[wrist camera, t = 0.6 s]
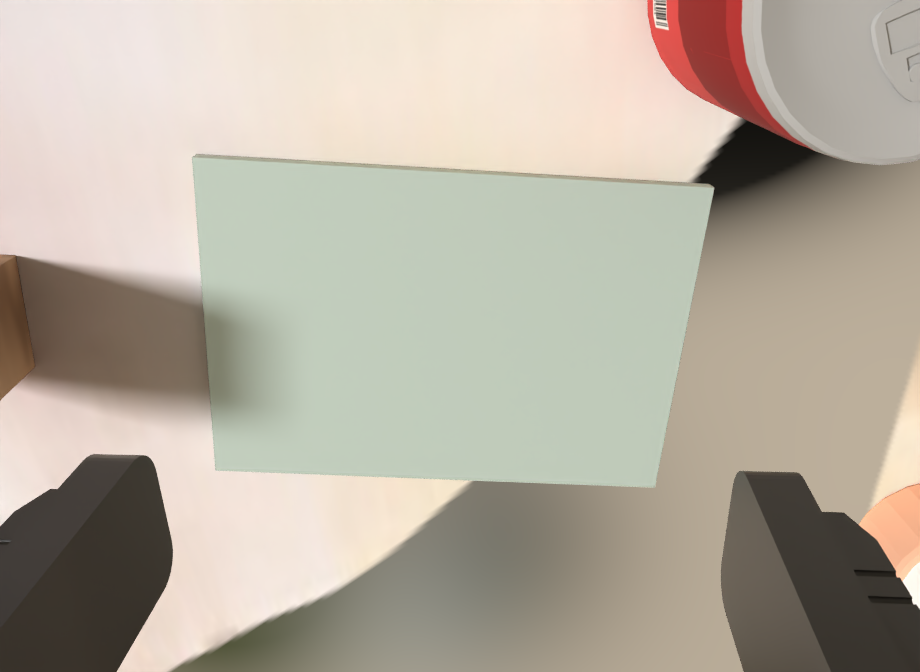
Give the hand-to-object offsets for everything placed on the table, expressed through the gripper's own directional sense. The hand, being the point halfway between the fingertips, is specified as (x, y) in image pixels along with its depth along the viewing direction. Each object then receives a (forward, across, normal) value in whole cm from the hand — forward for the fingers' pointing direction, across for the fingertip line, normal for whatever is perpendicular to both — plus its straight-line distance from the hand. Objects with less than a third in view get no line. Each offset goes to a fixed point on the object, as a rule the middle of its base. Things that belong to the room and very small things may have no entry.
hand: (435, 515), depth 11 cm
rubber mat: (+22, +2, +7) cm, 23 cm away
